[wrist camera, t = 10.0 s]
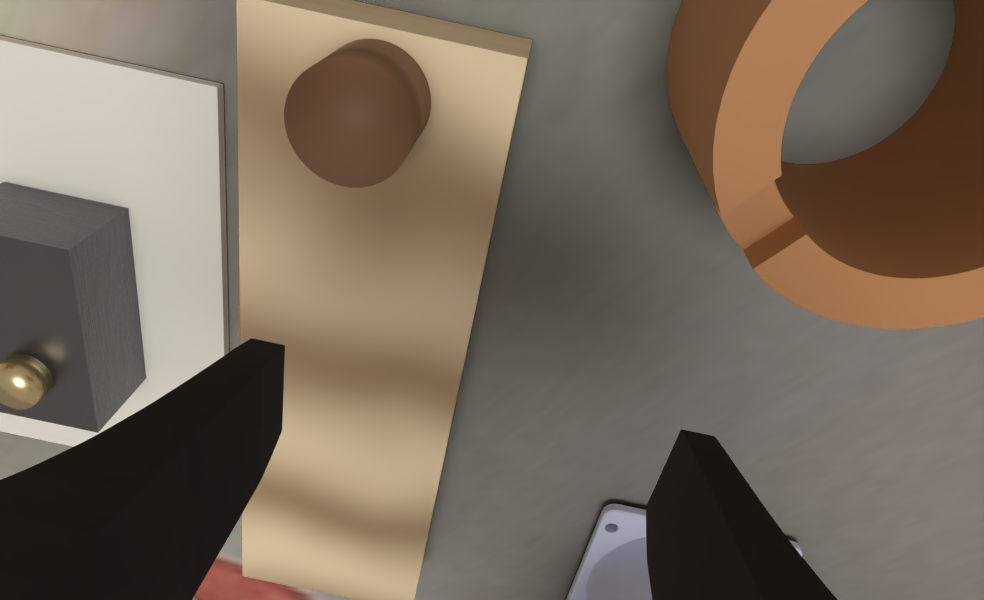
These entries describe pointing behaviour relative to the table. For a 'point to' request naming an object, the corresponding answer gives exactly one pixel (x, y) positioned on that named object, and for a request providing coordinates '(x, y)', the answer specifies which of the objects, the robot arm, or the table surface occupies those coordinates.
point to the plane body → (363, 270)
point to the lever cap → (67, 308)
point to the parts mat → (130, 194)
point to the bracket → (836, 167)
